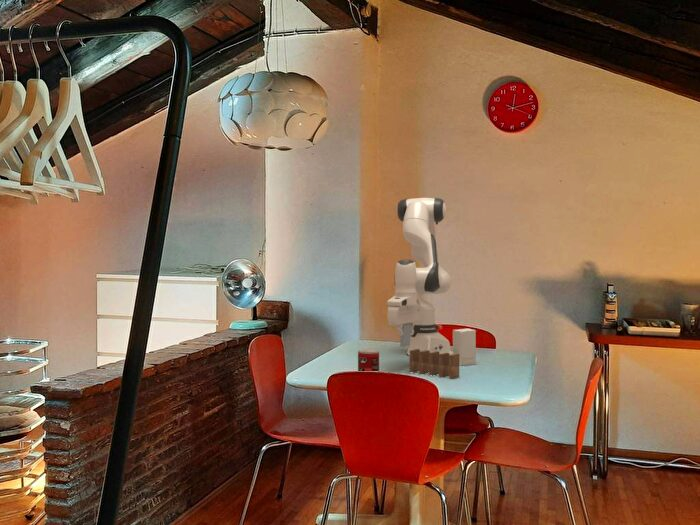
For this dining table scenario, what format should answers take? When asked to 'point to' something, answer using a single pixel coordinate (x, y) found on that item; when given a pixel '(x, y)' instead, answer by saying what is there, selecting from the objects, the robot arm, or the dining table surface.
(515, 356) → the dining table surface
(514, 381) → the dining table surface
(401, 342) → the domino
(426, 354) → the domino
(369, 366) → the canned food
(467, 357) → the skincare box
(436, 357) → the domino
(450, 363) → the domino
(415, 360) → the domino
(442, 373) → the domino
